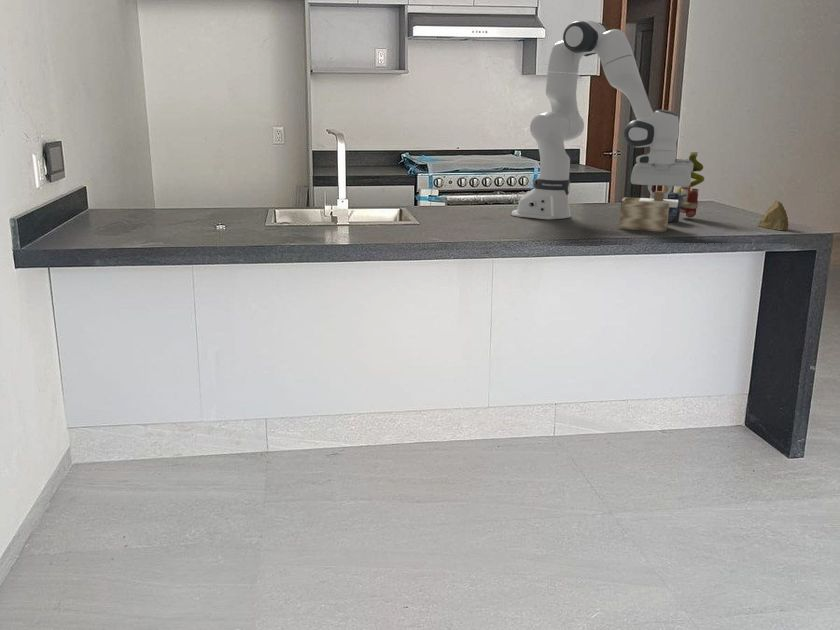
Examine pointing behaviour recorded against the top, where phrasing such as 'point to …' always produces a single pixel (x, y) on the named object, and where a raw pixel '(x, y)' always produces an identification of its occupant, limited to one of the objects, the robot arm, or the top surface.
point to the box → (672, 210)
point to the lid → (660, 199)
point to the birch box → (643, 215)
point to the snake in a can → (690, 197)
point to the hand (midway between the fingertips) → (658, 198)
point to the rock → (775, 217)
